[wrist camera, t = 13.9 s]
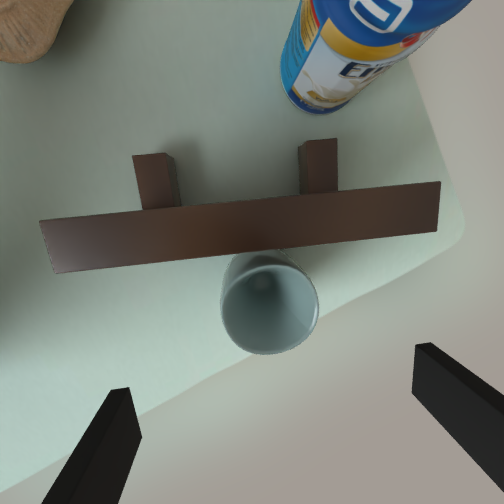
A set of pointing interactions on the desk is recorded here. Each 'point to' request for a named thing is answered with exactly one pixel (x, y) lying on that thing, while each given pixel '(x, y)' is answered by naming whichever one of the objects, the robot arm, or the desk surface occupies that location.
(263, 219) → the partition wall
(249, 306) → the cup
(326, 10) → the beverage bottle
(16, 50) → the pottery oil lamp
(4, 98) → the desk surface
